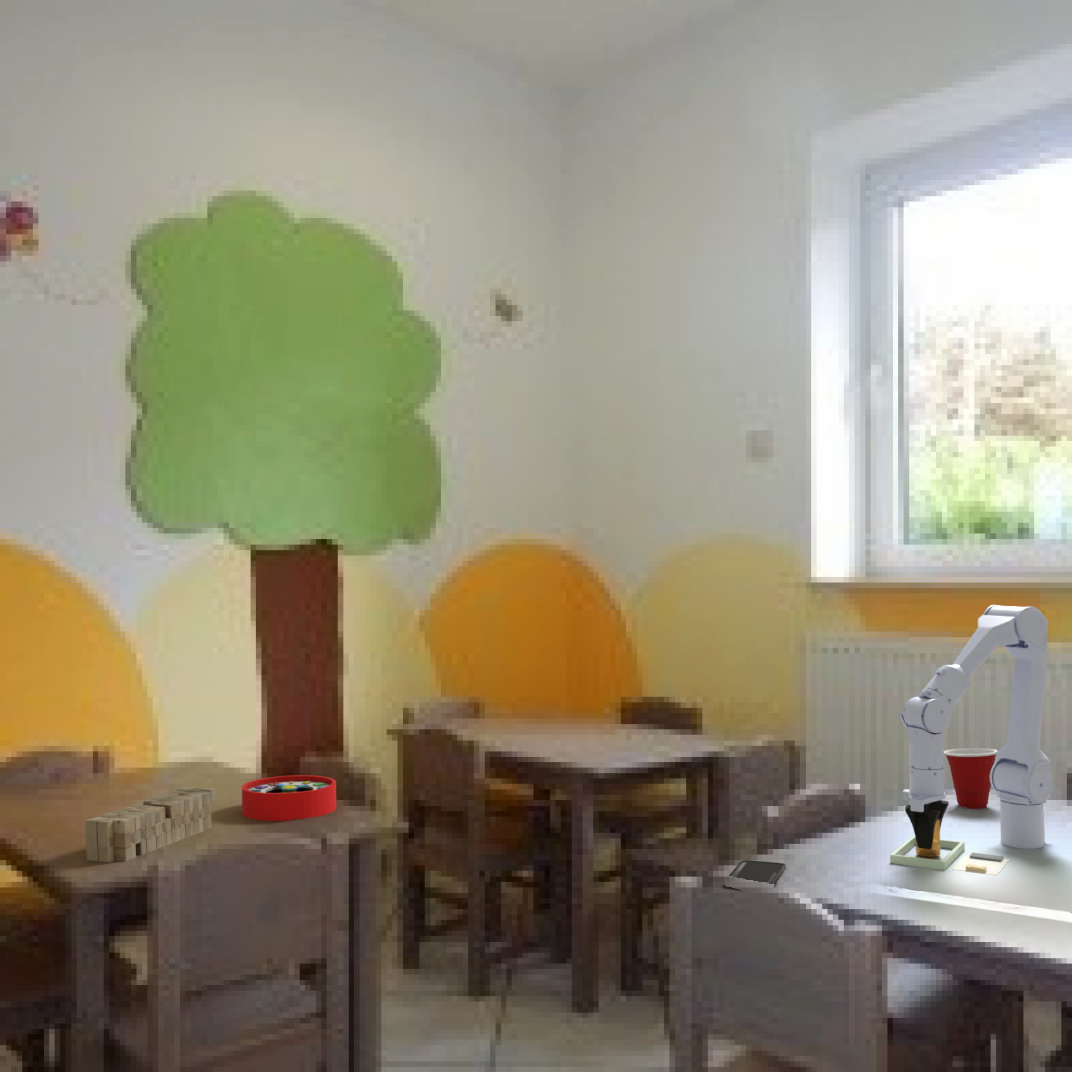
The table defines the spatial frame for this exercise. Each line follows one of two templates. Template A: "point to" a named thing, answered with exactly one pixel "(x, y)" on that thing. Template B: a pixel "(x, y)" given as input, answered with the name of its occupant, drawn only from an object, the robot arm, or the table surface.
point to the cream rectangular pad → (982, 863)
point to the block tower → (149, 825)
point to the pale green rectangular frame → (923, 862)
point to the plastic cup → (971, 775)
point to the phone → (759, 871)
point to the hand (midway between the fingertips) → (927, 845)
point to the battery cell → (935, 846)
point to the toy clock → (288, 797)
